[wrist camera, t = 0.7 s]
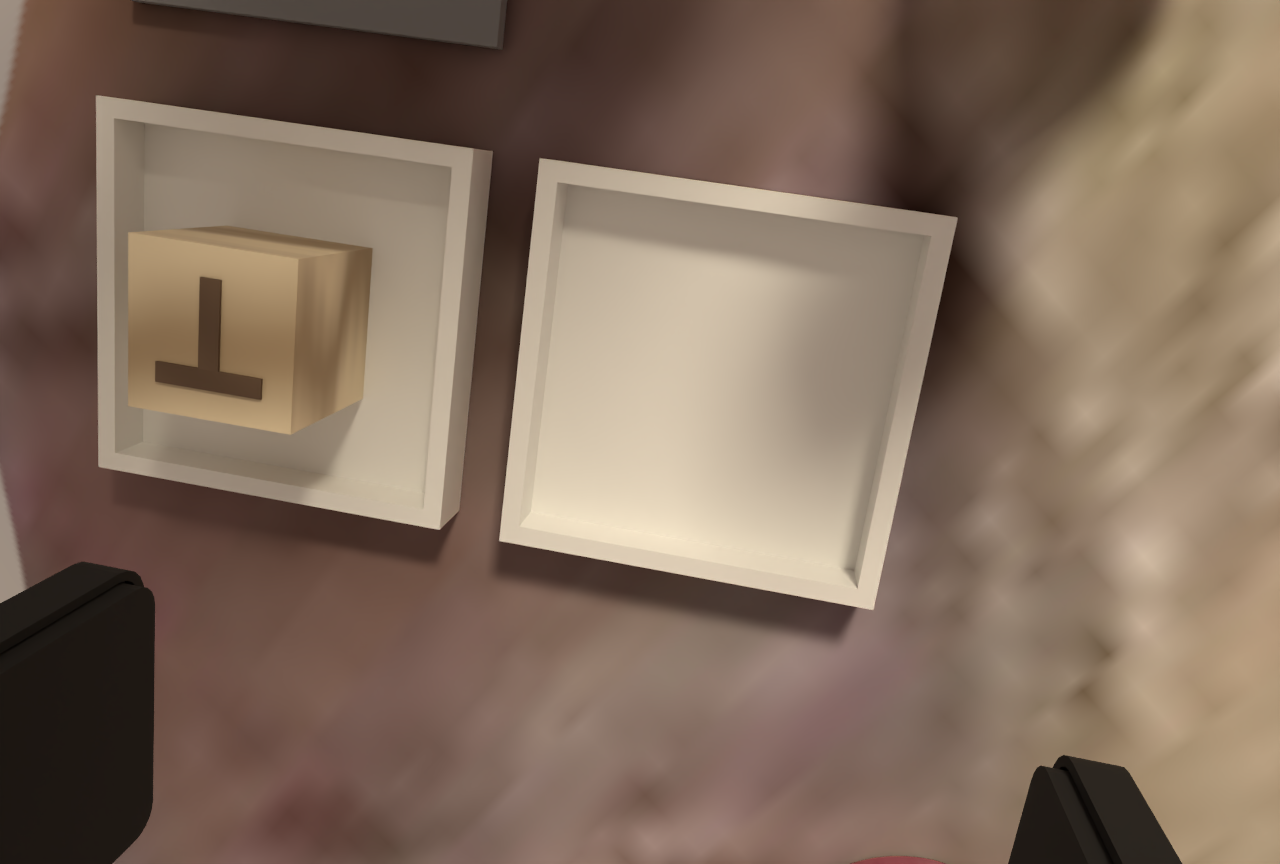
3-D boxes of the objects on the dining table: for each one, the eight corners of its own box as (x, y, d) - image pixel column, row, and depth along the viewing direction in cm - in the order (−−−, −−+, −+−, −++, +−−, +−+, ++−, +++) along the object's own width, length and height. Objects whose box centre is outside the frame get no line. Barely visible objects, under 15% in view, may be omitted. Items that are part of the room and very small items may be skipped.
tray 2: (555, 159, 31) (539, 158, 29) (946, 215, 29) (957, 217, 27) (515, 520, 34) (499, 541, 32) (868, 584, 32) (873, 609, 31)
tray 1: (137, 100, 32) (96, 95, 30) (493, 151, 31) (473, 148, 29) (136, 451, 35) (98, 466, 33) (459, 510, 34) (439, 529, 32)
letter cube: (226, 225, 32) (126, 232, 27) (372, 248, 32) (296, 259, 27) (222, 377, 33) (125, 409, 29) (362, 401, 33) (288, 439, 28)
